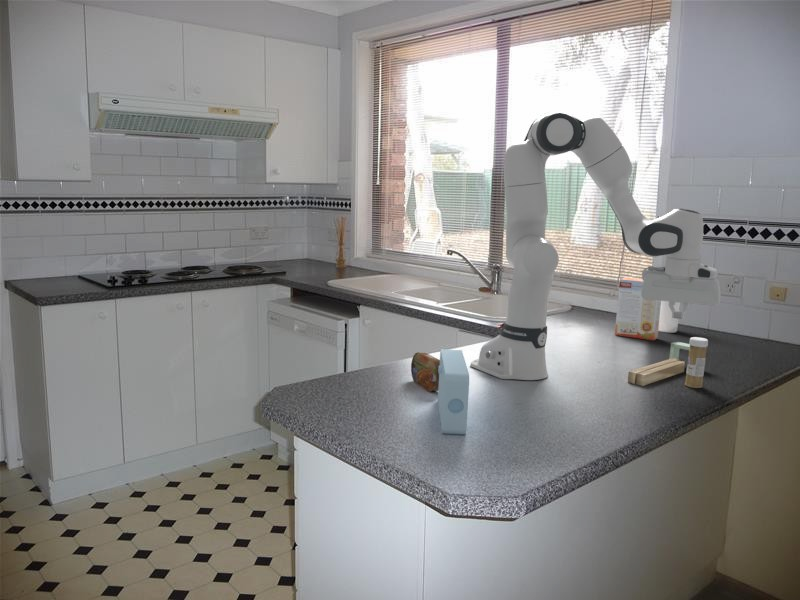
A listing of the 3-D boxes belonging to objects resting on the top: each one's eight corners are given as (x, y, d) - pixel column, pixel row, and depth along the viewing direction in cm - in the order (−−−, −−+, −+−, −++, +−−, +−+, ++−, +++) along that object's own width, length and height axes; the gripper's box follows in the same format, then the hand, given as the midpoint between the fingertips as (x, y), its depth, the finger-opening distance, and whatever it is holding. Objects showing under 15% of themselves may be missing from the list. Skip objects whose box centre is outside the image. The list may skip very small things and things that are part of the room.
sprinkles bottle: (681, 383, 191) (686, 336, 189) (697, 383, 192) (702, 336, 189) (689, 388, 187) (695, 340, 184) (705, 388, 187) (711, 340, 185)
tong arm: (636, 384, 189) (637, 373, 188) (677, 370, 205) (678, 360, 205) (643, 385, 187) (644, 375, 187) (684, 371, 204) (685, 361, 203)
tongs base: (627, 382, 190) (628, 371, 190) (673, 367, 209) (674, 357, 208) (637, 384, 188) (638, 374, 188) (682, 369, 206) (683, 359, 206)
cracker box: (657, 338, 248) (664, 281, 245) (654, 341, 243) (660, 282, 240) (618, 332, 256) (624, 276, 252) (614, 335, 250) (619, 278, 247)
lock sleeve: (668, 365, 210) (671, 343, 209) (674, 363, 213) (677, 341, 212) (696, 372, 204) (698, 349, 203) (701, 369, 207) (704, 347, 206)
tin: (409, 379, 185) (410, 348, 183) (420, 378, 186) (421, 348, 185) (434, 396, 171) (435, 363, 170) (445, 395, 172) (447, 362, 171)
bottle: (656, 331, 260) (664, 252, 255) (653, 327, 267) (661, 250, 262) (678, 333, 258) (687, 253, 253) (675, 329, 266) (684, 251, 261)
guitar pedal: (434, 400, 168) (437, 347, 166) (458, 401, 168) (461, 348, 166) (438, 435, 145) (441, 374, 143) (465, 437, 145) (469, 376, 143)
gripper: (640, 266, 190) (636, 315, 193) (721, 273, 180) (716, 324, 183) (644, 264, 196) (641, 312, 198) (723, 270, 186) (718, 320, 188)
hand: (677, 318), depth 190 cm, fingers closed
